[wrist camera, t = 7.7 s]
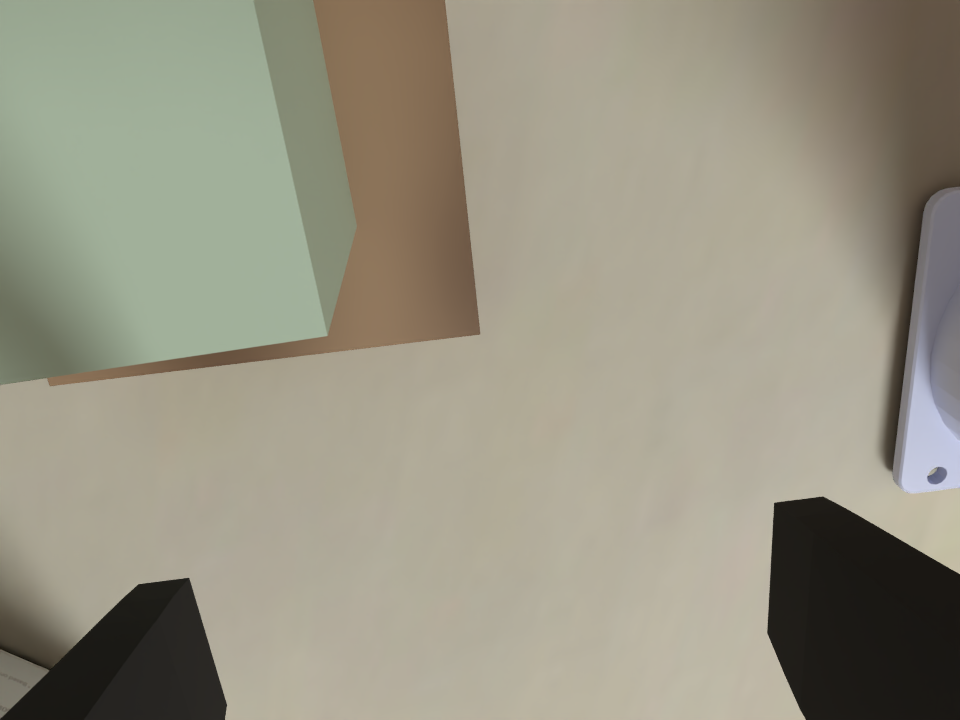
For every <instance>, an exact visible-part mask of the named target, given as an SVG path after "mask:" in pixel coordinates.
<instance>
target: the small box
mask: <svg viewBox="0 0 960 720" xmlns="http://www.w3.org/2000/svg"><path fill="white" fill-rule="evenodd" d="M49 671H50V670H48V669H45V668H43V667H41V666H38V665H36V664H34V663H31V662H29V661H27V660H24V659H22V658H20V657H17V656H15V655H12V654H10V653H8V652H5V651H3V650H1V649H0V718H1V717H3V716H4V715H5V714H6V713H7V712H8V711H9V710H10V709H11V708H12V707H13V706H14V705H15V704H16V703H17V702H18V701H19V700H20V699H21V698H22V697H23V696H24V695H25V694H26V693H27V692H28V691H29V690H30V689H31V688H32V687H33V686H34V685H35V684H36V683H38V682H39V681H40V680H41V679H42V678H43V677H44V676H45V675H46V674H47V673H48V672H49Z"/></svg>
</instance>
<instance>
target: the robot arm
mask: <svg viewBox="0 0 960 720" xmlns="http://www.w3.org/2000/svg"><path fill="white" fill-rule="evenodd" d="M936 467H938V468H937V470H936V472H935V473H934V474H932V475H930V476H928V474H929V472H930V471H931V470H932V469H933V468H936ZM892 475H893V480H894V482H895V483H896V484H897V485H898V486H899V487H900V488H901V489H902V490H903V491H905V492H907V493H922V492H930V491H937V490H945V489H953V488H960V187H952V188H946V189H943V190H940V191H938V192H937V193H935V194H934V195H932V196H931V198H930V199H929V200H928V202H927V203H926V206H925V209H924V212H923V220H922V229H921V237H920V245H919V254H918V262H917V271H916V279H915V287H914V296H913V304H912V313H911V321H910V329H909V338H908V346H907V355H906V363H905V371H904V380H903V388H902V397H901V405H900V413H899V422H898V430H897V439H896V447H895V455H894V464H893V472H892ZM767 633H768V636H769V638H770V640H771V643H772V645H773V648H774V650H775V652H776V655H777V657H778V660H779V662H780V665H781V667H782V669H783V672H784V674H785V676H786V679H787V681H788V683H789V685H790V688H791V690H792V692H793V694H794V697H795V699H796V701H797V703H798V706H799V708H800V710H801V712H802V713H803V715H804V717H805V719H806V720H960V574H958V573H957V572H955V571H953V570H951V569H950V568H948V567H946V566H944V565H943V564H941V563H939V562H937V561H936V560H934V559H932V558H930V557H929V556H927V555H925V554H923V553H922V552H920V551H918V550H917V549H915V548H913V547H911V546H910V545H908V544H906V543H905V542H903V541H901V540H899V539H898V538H896V537H894V536H893V535H891V534H889V533H887V532H886V531H884V530H882V529H881V528H879V527H877V526H875V525H874V524H872V523H870V522H868V521H867V520H865V519H863V518H862V517H860V516H858V515H856V514H855V513H853V512H851V511H849V510H847V509H846V508H844V507H842V506H840V505H838V504H836V503H834V502H832V501H830V500H829V499H827V498H825V497H816V498H808V499H801V500H793V501H785V502H777V503H774V518H773V537H772V556H771V575H770V593H769V612H768V631H767ZM226 707H227V704H226V700H225V697H224V694H223V690H222V687H221V684H220V680H219V677H218V673H217V670H216V667H215V663H214V660H213V657H212V653H211V650H210V647H209V643H208V640H207V636H206V633H205V630H204V626H203V623H202V620H201V616H200V613H199V610H198V606H197V603H196V599H195V596H194V593H193V589H192V586H191V583H190V579H189V578H184V579H176V580H169V581H161V582H153V583H145V584H138V585H137V586H136V587H135V588H134V589H133V590H132V591H131V592H130V593H128V594H127V595H126V596H125V597H124V598H123V599H122V600H121V601H120V602H119V603H118V604H117V605H116V606H115V607H114V608H113V609H112V610H111V611H109V612H108V613H107V614H106V615H105V616H104V617H103V618H102V619H101V620H100V621H99V622H98V623H97V624H96V625H95V626H94V627H93V628H92V629H91V630H90V631H89V632H88V633H87V634H86V635H85V636H84V637H83V638H82V639H81V640H80V641H79V642H78V643H77V644H76V645H75V646H74V647H73V648H72V649H71V650H70V651H69V652H68V653H67V654H66V655H65V656H64V657H63V658H62V659H61V660H60V661H59V662H58V663H57V664H56V665H55V666H54V667H53V668H52V669H51V670H50V671H49V672H48V673H47V674H46V675H45V676H44V677H43V678H42V679H41V680H40V681H39V682H38V683H36V684H35V685H34V686H33V687H32V688H31V689H30V690H29V691H28V692H27V693H26V694H25V695H24V696H23V697H22V698H21V699H20V700H19V701H18V702H17V703H16V704H15V705H14V706H13V707H12V708H11V709H10V710H9V711H8V712H7V713H6V714H5V715H4V716H3V717H1V718H0V720H225V715H226Z"/></svg>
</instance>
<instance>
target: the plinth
mask: <svg viewBox="0 0 960 720" xmlns="http://www.w3.org/2000/svg"><path fill="white" fill-rule="evenodd" d="M313 3H314V8H315V13H316V18H317V23H318V28H319V33H320V39H321V44H322V49H323V54H324V59H325V64H326V70H327V75H328V80H329V85H330V90H331V95H332V100H333V106H334V111H335V116H336V121H337V126H338V131H339V136H340V142H341V147H342V152H343V157H344V162H345V167H346V173H347V178H348V183H349V188H350V193H351V198H352V203H353V209H354V214H355V219H356V224H357V228H356V231H355V235H354V239H353V243H352V246H351V250H350V254H349V258H348V261H347V265H346V269H345V273H344V276H343V280H342V284H341V288H340V291H339V295H338V299H337V303H336V306H335V310H334V314H333V318H332V321H331V325H330V329H329V332H328V336H325V337H318V338H311V339H304V340H298V341H291V342H284V343H278V344H271V345H264V346H258V347H251V348H244V349H237V350H231V351H224V352H217V353H211V354H204V355H197V356H191V357H184V358H177V359H170V360H164V361H157V362H150V363H144V364H137V365H130V366H124V367H117V368H110V369H103V370H97V371H90V372H83V373H77V374H70V375H63V376H57V377H50V378H47V379H48V382H49V385H50V386H55V385H63V384H71V383H80V382H88V381H96V380H105V379H113V378H121V377H130V376H138V375H146V374H155V373H163V372H171V371H180V370H188V369H196V368H205V367H213V366H221V365H230V364H238V363H246V362H254V361H263V360H271V359H279V358H288V357H296V356H304V355H313V354H321V353H329V352H338V351H346V350H354V349H363V348H371V347H379V346H388V345H396V344H404V343H412V342H421V341H429V340H437V339H446V338H454V337H462V336H471V335H479V334H480V327H479V318H478V308H477V299H476V289H475V280H474V270H473V261H472V252H471V242H470V233H469V223H468V214H467V204H466V195H465V186H464V176H463V167H462V157H461V148H460V138H459V129H458V120H457V110H456V101H455V91H454V82H453V73H452V63H451V54H450V44H449V35H448V25H447V16H446V7H445V0H313Z"/></svg>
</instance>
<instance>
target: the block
mask: <svg viewBox="0 0 960 720" xmlns="http://www.w3.org/2000/svg"><path fill="white" fill-rule="evenodd" d="M356 228H357V224H356V219H355V214H354V209H353V203H352V198H351V193H350V188H349V183H348V178H347V173H346V167H345V162H344V157H343V152H342V147H341V142H340V136H339V131H338V126H337V121H336V116H335V111H334V106H333V100H332V95H331V90H330V85H329V80H328V75H327V70H326V64H325V59H324V54H323V49H322V44H321V39H320V33H319V28H318V23H317V18H316V13H315V8H314V3H313V0H0V385H3V384H10V383H16V382H23V381H30V380H36V379H43V378H50V377H57V376H63V375H70V374H77V373H83V372H90V371H97V370H103V369H110V368H117V367H124V366H130V365H137V364H144V363H150V362H157V361H164V360H170V359H177V358H184V357H191V356H197V355H204V354H211V353H217V352H224V351H231V350H237V349H244V348H251V347H258V346H264V345H271V344H278V343H284V342H291V341H298V340H304V339H311V338H318V337H325V336H328V332H329V329H330V325H331V321H332V318H333V314H334V310H335V306H336V303H337V299H338V295H339V291H340V288H341V284H342V280H343V276H344V273H345V269H346V265H347V261H348V258H349V254H350V250H351V246H352V243H353V239H354V235H355V231H356Z"/></svg>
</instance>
